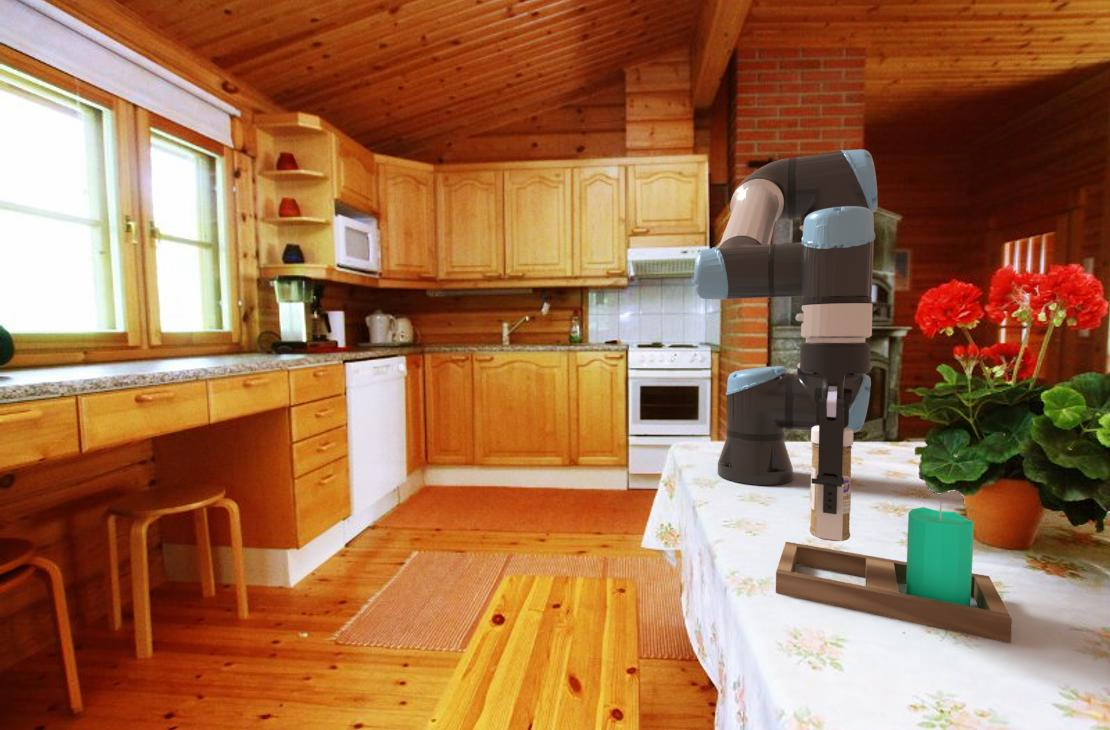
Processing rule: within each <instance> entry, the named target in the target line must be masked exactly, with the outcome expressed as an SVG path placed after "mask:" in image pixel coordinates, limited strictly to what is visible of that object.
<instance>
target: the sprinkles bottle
mask: <svg viewBox="0 0 1110 730" xmlns="http://www.w3.org/2000/svg"><path fill="white" fill-rule="evenodd" d="M810 442H811V446H812V451H811V452H812V455H811V456H812V457H811V467H810V500H809V503H810V504H809V505H810V526H809V533H810V534H811V535H812V536H814V537H816V533H817V490H818V484H812V478H815V479H817V475H818V457H819V426H814V427H812V429H811V431H810ZM853 445H854V433H853V430H852V429H850V428H844V436H843V471H842V477H843V478H844V484H843V485H844V489H843V527H842V541H841V542H845V541H847V540H849V539H850V537H851V532H850V515H851V514H850V513H851V509H852V507H851V503H852V501H851V500H852V497H851V496H852V487H851V481H852V480H851V477H852V472H851V471H852V448H853ZM816 538H818V539H820V540H822V541H831V542H839V541H838V540H832V539H826V538H820V537H816Z"/></svg>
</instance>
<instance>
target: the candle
mask: <svg viewBox="0 0 1110 730" xmlns="http://www.w3.org/2000/svg"><path fill="white" fill-rule="evenodd" d="M942 508H943V505H942V502H939V510H936V509H933V508H928V507H924V506H923V507H916V508H913V509H911V510H910V511H908V519H907V520H908V522H907V543H906V545H907V546H906V547H907V548H906V562H907V571H906V585H905V594H908V595H913V596H919V597H924V598H929V599H934V600H939V601H944V602H949V603H955V604H960V605H965V606H970V607H971V601H972V600H971V598H972V597H971V580H972V573H973V552H974V528H975V521H974V520H970V519H967V518H965V517H964V516H962V515H961V514H959V513H957V512H955V511H945V510H942Z"/></svg>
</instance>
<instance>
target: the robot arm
mask: <svg viewBox="0 0 1110 730" xmlns="http://www.w3.org/2000/svg"><path fill="white" fill-rule="evenodd" d="M739 183H740V184H738V186H737V187H736V188H735V190H734V192H733V195H732V197H731V200H730V203H729V204H730V207H729V208H730V214H731V215H730V216H729V219H728V222H727V224H726V227H725V229H724V232H723V234H722V238H721V239H720V243H719V246H718V247H717V246H713V247H712V248H706V249H702V250H699V251H698V253H696V256H695V261H694V272H693V273H694V275H693V276H694V277H693V280H694V288H695V291H696V293H697V295H698V296H699V298H701V299H704V300H721V301H726V300H742V299H744V300H745V299H764V298H799V297H800V298H802V299H801V311H802V313H796V315H795V321H797V322H802V323H801V325H800V336H801V337H802V338H803V339H805V342H802V343H801V344H800V346H799V348H800V350H799V351H800V353H799V363H797V365H796V373H788V372H787V369H786V366H782V365H781V366H780V365H779V366H778V365H777V366H776V365H775V366H763V367H754V368H745V369H739V370H735V371H733V372H731V373H729V375H728V377H727V381H726V382H727V384H726V385H727V386H726V392H725V395H726V434H725V436H726V438H725V442H724V444H723V448H722V450H721V453H720V455H719V459H718V461H717V474H718V475H719V476H720V477H721V478H723V479H726V480H729V481H732V482H736V483H740V484H748V485H755V486H757V485H758V486H773V485H774V486H775V485H782V484H787V483H790V482H792V481H793V479H794V476H793V475H794V468H793V464H792V462H791V459H790V458H791V457H790V455H789V452H788V450H787V446H786V442H785V430H793V431H794V430H795V431H810V432H811V429H812V427H814V426H819V457H818V475H817V479H815V478H812V484H818V490H817V533H816V538H818V537H820V538H826V539H832V540H838V541H837V542H843V541H842V527H843V489H844V485H843V484H844V478H843V477H842V471H843V436H844V428H850V429H852V430H853V434H854V433H858V432H859V431H860V430H861V429H862V428H863V427H864V424H865V420H866V417H867V414H868V413H867V412H868V408H869V403H870V395H871V386H872V381H871V376H870V375H868V374H869V373H870V371H871V353H872V352H871V351H872V349H871V348H872V346H871V345H870V344H869V342H866V339H870V337H872V335H873V332H872V331H873V303H872V302H873V297H872V290H873V286H872V285H873V271H874V270H873V269H874V242H875V241H874V240H876V233H875V222H874V221H875V219H874V217H875V216H874V213H875V212H876V211H877V210H878V185H877V176H876V169H875V163H874V160H873V157H872V154H871V153H870V151H868V150H866V149H849V150H848V149H847V150H845V149H841V150H837V151H831V152H830V151H829V152H823V153H817V154H811V155H804V156H796V157H791V158H790V157H788V158H782V159H777V160H775V161H774V160H773V161H771V162H769V163H768V164H766V165H763V166H761V167H759V168H758V169H756V170H754V171H753V172H752V173H750V175H747V176H746V177H745V178H744V179H743V180H742V181H741V182H739ZM788 220H789V221H791V220H799V230H800V231H802V237H801V241H800V242H799V241H798V242H784V243H772V244H771V241H772V236H773V231H774V226H775V223H776V222H777V221H779V222H780V221H788ZM820 538H819V539H820Z"/></svg>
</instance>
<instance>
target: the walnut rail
mask: <svg viewBox="0 0 1110 730" xmlns="http://www.w3.org/2000/svg"><path fill="white" fill-rule="evenodd" d="M797 566H802V567H803V566H804V567H808V568H813V569H819V570H825V571H830V572H835V573H840V574H846V575H851V576H856V577H862V578H865V585H860V584H856V583H851V582H846V581H842V580H840V581H839V580H836V579H831V578H826V577H822V576H821V577H819V576H814V575H809V574H805V573H799V572H796V569H797ZM906 571H907V561H904V560H903V561H901V560H896V559H890V558H885V557H879V556H872V555H867V554H861V553H856V552H855V553H854V552H850V551H844V550H838V549H831V548H826V547H820V546H814V545H808V544H802V543H797V542H790V541H785V543H784V545H783V549H782V552H781V556H780V559H779V562H778V565H777V568H776V572H775V594H781V595H785V596H789V597H795V598H799V599H804V600H805V599H806V600H809V601H814V602H817V603H823V604H826V605H827V604H828V605H833V606H836V607H837V606H838V607H841V608H846V609H850V610H856V611H859V612H860V611H861V612H864V613H865V612H866V613H868V614H869V613H870V614H873V615H880V616H884V617H890V618H894V619H898V620H902V621H907V622H911V623H917V624H922V625H926V626H931V627H935V628H936V627H937V628H940V629H944V630H949V631H954V632H959V633H964V634H967V635H973V636H978V637H981V638H985V639H991V640H996V641H1001V642H1005V643H1009V644H1011V643H1012V623H1013V621H1012V620H1013V619H1012V616H1011V615H1010V613H1009V611H1008V608H1007V607H1006V605H1005V603H1004V602H1003V599H1002V598H1001V595H1000V594H999V591H998V590H997V589H996V587H995V585H994V583H993V581H992V579H991V577H990V576H989V575H984V574H978V573H974V572H972V580H971V598H973V599H974V601H975V604H976V606H977V607H975V606H971V605H970V606H965V605H960V604H955V603H949V602H944V601H939V600H934V599H929V598H924V597H919V596H913V595H908V594H906V593H902V592H900V591H899V586H898V585H900V584H901V585H904V586H906Z"/></svg>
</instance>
